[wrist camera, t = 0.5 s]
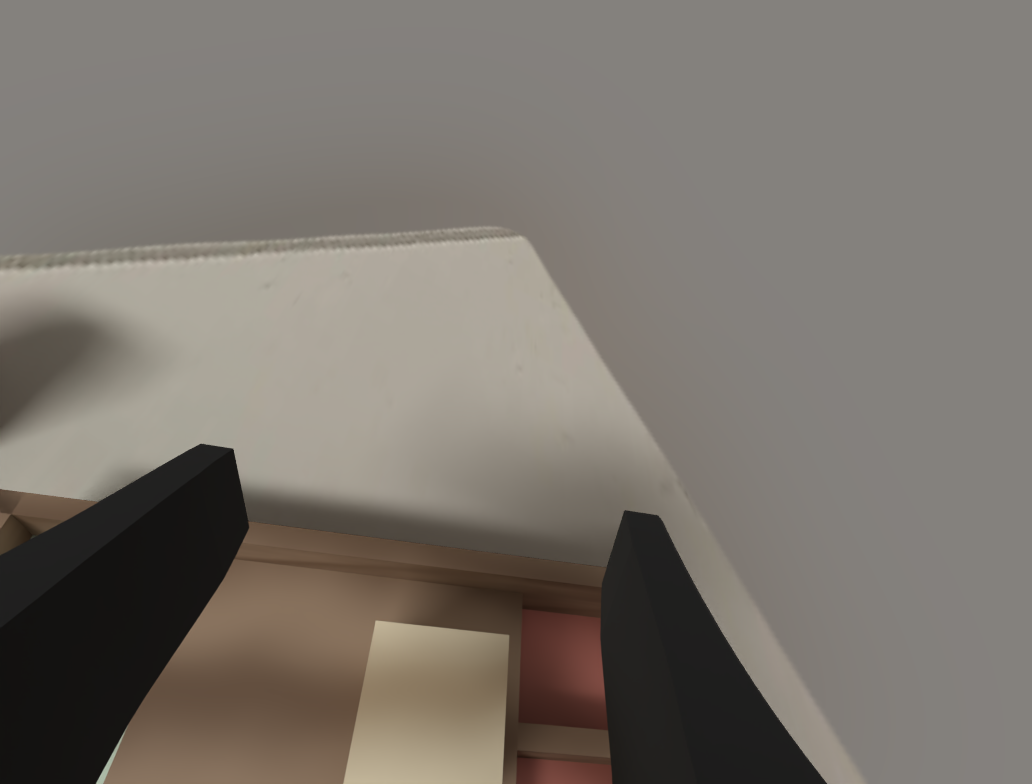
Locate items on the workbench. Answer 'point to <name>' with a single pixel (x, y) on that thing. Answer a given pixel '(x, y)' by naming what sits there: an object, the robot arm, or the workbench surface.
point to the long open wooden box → (352, 655)
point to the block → (431, 707)
